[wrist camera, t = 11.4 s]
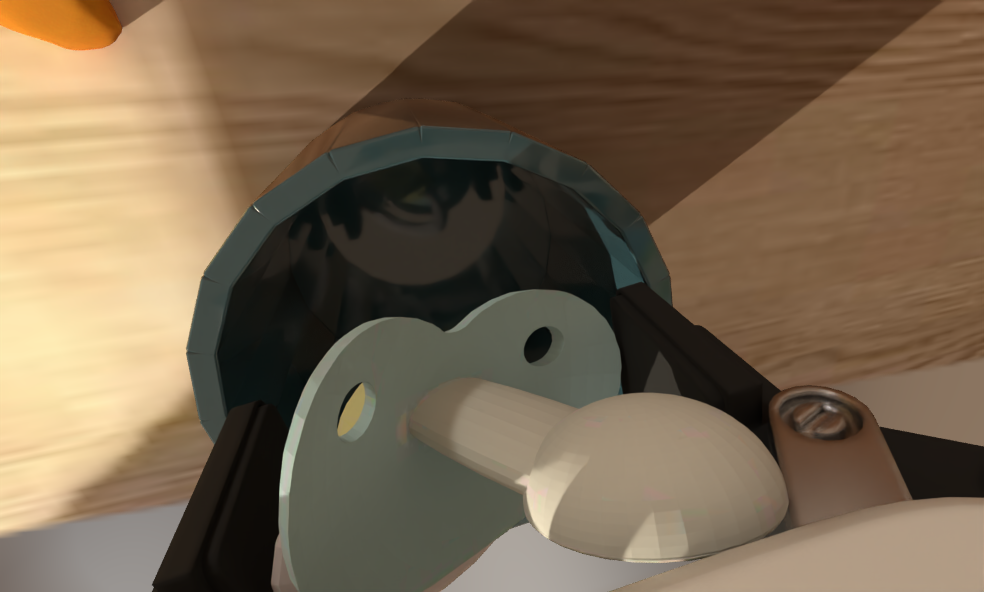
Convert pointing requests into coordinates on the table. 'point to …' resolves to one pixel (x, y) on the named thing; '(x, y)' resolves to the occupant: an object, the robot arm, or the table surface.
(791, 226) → the table surface
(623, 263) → the cup
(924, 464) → the robot arm
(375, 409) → the pacifier
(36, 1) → the rattle
